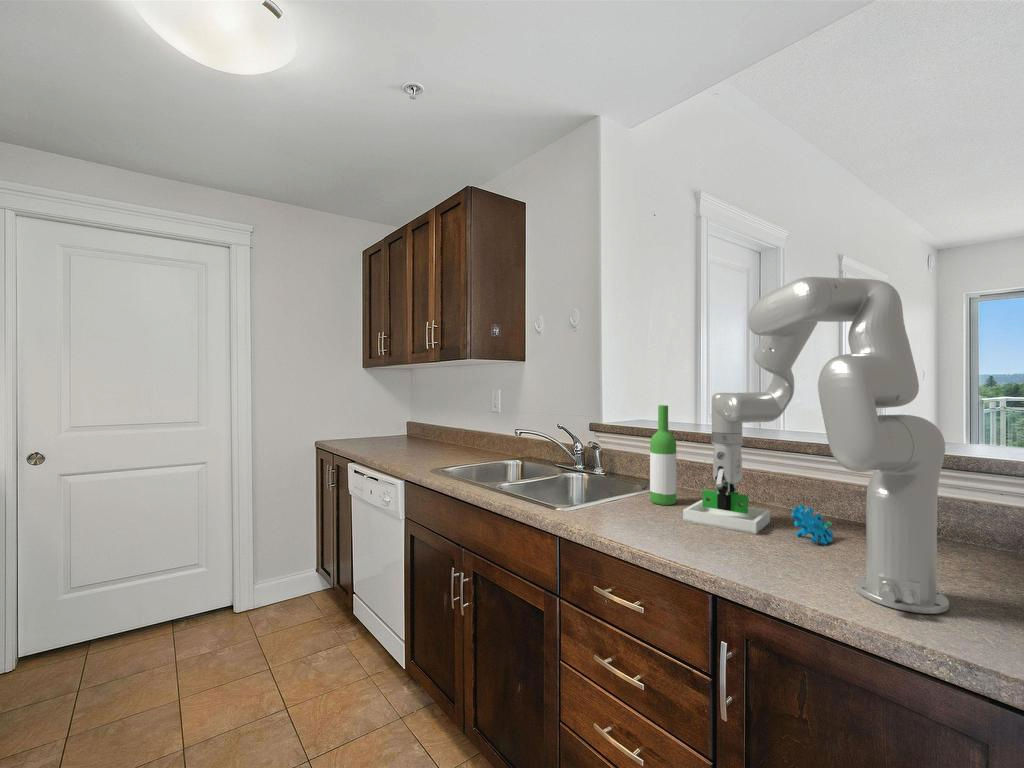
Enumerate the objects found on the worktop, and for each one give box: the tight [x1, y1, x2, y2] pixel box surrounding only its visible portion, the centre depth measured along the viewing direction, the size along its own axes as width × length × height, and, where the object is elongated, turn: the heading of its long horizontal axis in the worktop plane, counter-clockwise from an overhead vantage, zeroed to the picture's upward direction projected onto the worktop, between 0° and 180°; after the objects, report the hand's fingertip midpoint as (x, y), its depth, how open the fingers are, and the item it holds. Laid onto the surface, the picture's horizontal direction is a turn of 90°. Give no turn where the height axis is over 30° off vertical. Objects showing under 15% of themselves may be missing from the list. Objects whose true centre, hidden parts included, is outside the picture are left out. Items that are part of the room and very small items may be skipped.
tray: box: [682, 499, 771, 536], centre depth 129 cm, size 14×18×3 cm
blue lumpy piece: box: [790, 504, 834, 546], centre depth 115 cm, size 11×6×10 cm
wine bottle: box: [649, 404, 677, 506], centre depth 148 cm, size 8×8×30 cm
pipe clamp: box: [702, 489, 749, 514], centre depth 129 cm, size 11×4×5 cm, turn 50°
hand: (726, 506), depth 129 cm, fingers closed on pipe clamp, 3 cm apart
